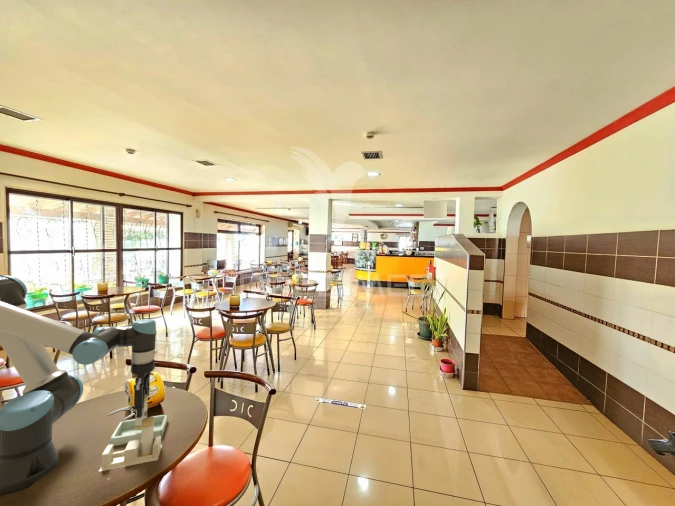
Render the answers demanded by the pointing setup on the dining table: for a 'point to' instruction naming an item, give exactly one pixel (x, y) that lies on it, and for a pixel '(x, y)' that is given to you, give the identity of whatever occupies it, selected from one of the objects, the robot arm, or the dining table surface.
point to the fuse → (147, 436)
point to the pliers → (123, 410)
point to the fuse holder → (129, 455)
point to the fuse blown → (144, 413)
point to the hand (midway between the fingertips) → (141, 421)
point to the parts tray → (129, 433)
